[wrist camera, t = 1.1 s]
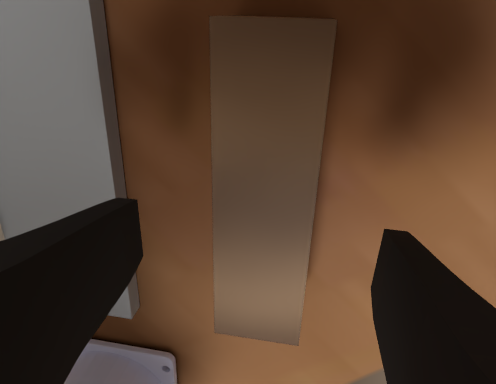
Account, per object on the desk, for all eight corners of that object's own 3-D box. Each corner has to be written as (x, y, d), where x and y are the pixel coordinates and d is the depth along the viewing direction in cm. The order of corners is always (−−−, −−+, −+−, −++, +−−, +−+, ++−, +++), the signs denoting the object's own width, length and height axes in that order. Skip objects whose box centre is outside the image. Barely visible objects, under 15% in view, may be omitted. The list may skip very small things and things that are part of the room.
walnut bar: (302, 282, 19) (298, 345, 15) (233, 273, 19) (214, 332, 16) (332, 18, 13) (337, 19, 10) (237, 15, 14) (209, 16, 10)
